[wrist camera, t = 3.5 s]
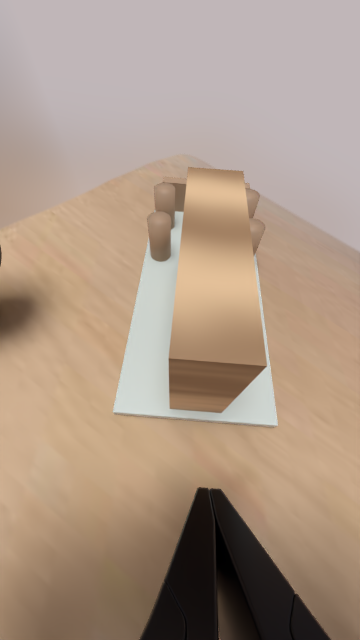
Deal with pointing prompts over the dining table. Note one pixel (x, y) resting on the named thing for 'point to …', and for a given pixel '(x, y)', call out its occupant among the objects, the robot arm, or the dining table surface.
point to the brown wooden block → (215, 297)
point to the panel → (156, 323)
